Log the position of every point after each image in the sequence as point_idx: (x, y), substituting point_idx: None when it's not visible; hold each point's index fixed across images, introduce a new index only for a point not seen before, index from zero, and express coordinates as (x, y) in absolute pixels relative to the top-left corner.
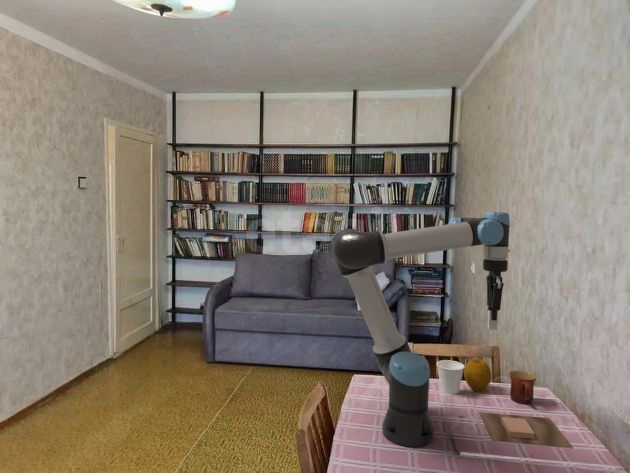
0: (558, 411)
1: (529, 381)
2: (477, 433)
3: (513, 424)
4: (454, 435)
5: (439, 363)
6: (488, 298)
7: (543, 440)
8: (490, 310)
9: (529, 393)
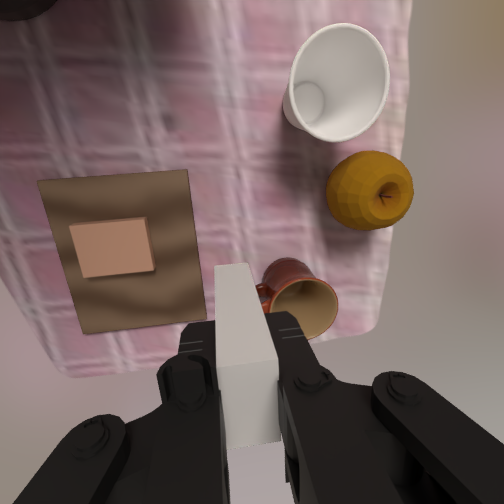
0: None
1: None
2: (87, 152)
3: (111, 240)
4: (48, 88)
5: (368, 43)
6: (469, 499)
7: (92, 288)
8: (217, 374)
9: None
